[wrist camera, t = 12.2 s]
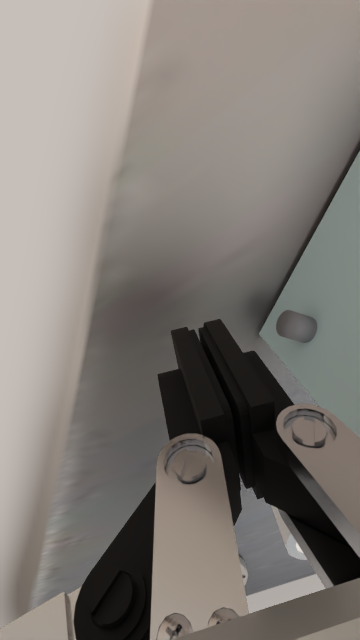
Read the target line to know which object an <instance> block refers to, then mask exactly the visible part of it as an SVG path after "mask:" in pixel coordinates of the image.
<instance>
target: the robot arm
mask: <svg viewBox="0 0 360 640" xmlns="http://www.w3.org/2000/svg"><path fill="white" fill-rule="evenodd" d="M171 334H172V339H173V344H174V349H175V354H176V358H177V363H178V368H179V369H177V370H173V371H169V372H165V373H161V374H158V380H159V386H160V391H161V396H162V402H163V407H164V412H165V418H166V423H167V428H168V433H169V439H170V441H169V442H168V443H167V444H166V445H165V446H164V447H163V448H162V450H161V452H160V454H159V455H158V460H157V466H156V483H155V484H154V485H153V487H152V488H151V489H150V491H149V492H148V494H147V495H146V496H145V498H144V499H143V500H142V502H141V503H140V505H139V506H138V507H137V509H136V510H135V512H134V513H133V514H132V516H131V517H130V518H129V520H128V521H127V523H126V524H125V525H124V527H123V528H122V529H121V531H120V532H119V534H118V535H117V536H116V538H115V539H114V540H113V542H112V543H111V545H110V546H109V547H108V549H107V550H106V551H105V553H104V554H103V556H102V557H101V558H100V560H99V561H98V562H97V564H96V565H95V567H94V568H93V569H92V571H91V572H90V574H89V575H88V577H87V578H86V580H85V582H84V584H83V585H82V586H81V587H80V588H78V589H76V590H75V591H73V592H71V593H70V594H68V595H67V594H66V593H65V592H62V593H60V594H58V595H57V596H55V597H53V598H52V599H50V600H48V601H47V602H45V603H43V604H41V605H40V606H38V607H36V608H35V609H33V610H31V611H29V612H28V613H26V614H25V615H23V616H21V617H19V618H18V619H16V620H14V621H12V622H11V623H9V624H7V625H6V626H4V627H2V628H0V640H360V438H359V437H358V436H357V435H356V434H355V433H354V432H353V431H352V430H351V429H349V428H348V427H347V426H346V425H345V424H344V423H343V422H342V421H340V420H339V419H338V418H337V417H336V416H335V415H333V414H332V413H331V412H329V411H328V410H326V409H324V408H321V407H319V406H315V405H310V404H296V405H294V404H293V402H292V401H291V399H290V398H289V397H288V395H287V394H286V393H285V391H284V390H283V389H282V387H281V386H280V385H279V383H278V382H277V380H276V379H275V378H274V376H273V375H272V374H271V372H270V371H269V370H268V368H267V367H266V365H265V364H264V363H263V361H262V360H261V359H260V357H259V356H258V355H257V353H256V352H255V351H250V352H245V353H243V352H242V351H241V349H240V348H239V346H238V345H237V343H236V342H235V340H234V339H233V337H232V336H231V334H230V333H229V331H228V330H227V328H226V327H225V325H224V324H223V322H222V321H221V320H220V319H218V320H214V321H209V322H205V323H204V327H203V328H199V336H200V341H199V339H198V337H197V334H196V332H195V330H190V331H189V330H188V328H187V327H184V328H180V329H176V330H171ZM239 473H240V476H241V478H242V481H243V483H244V486H245V487H246V489H247V488H251V487H252V488H253V490H254V492H255V495H256V497H257V499H260V498H263V497H264V499H265V501H266V503H268V504H270V505H272V506H274V507H276V508H278V511H279V513H280V515H281V518H282V519H283V521H284V523H285V524H286V526H287V527H288V529H289V531H290V532H291V534H292V535H293V537H294V539H295V540H296V542H297V543H298V545H299V547H300V548H301V550H302V551H303V553H304V555H305V556H306V558H307V559H308V561H309V563H310V564H311V566H312V567H313V569H314V570H315V572H316V574H317V575H318V577H319V578H320V580H321V582H322V583H323V585H324V586H325V588H326V589H324V590H321V591H318V592H315V593H312V594H309V595H306V596H302V597H299V598H296V599H293V600H290V601H287V602H284V603H281V604H278V605H275V606H272V607H269V608H266V609H263V610H259V611H256V612H253V613H250V614H249V611H248V605H247V600H246V594H245V588H244V586H245V584H246V582H247V579H248V572H247V569H246V565H245V563H244V561H243V559H242V558H241V557H240V556H239V554H238V549H237V543H236V537H235V532H234V525H235V523H236V521H237V519H238V517H239V514H240V512H241V510H242V507H241V498H240V490H241V487H240V478H239Z"/></svg>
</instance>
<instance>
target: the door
mask: <svg viewBox="0 0 360 640" xmlns="http://www.w3.org/2000/svg"><path fill="white" fill-rule="evenodd" d="M259 335H260V336H261V337H262V338H263V339H264V341H265V342H266V343H267V344H268V345H269V347H270V348H271V349H272V350H273V351H274V353H275V354H276V355H277V356H278V357H279V359H280V360H281V361H282V362H283V363H284V365H285V366H286V367H287V368H288V369H289V371H290V372H291V373H292V374H293V375H294V377H295V378H296V379H297V380H298V381H299V383H300V384H301V385H302V386H303V387H304V389H305V390H306V391H307V392H308V393H309V395H310V396H311V397H312V398H313V399H314V401H315V402H316V403H317V404H318V405H319V407H321V408H324V409H326V410H328V411H329V412H331V413H332V414H333V415H335V416H336V417H337V418H338V419H339V420H340V421H342V422H343V423H344V424H345V425H346V426H347V427H348V428H349V429H351V430H352V431H353V432H354V433H355V434H356V435H357V436H358V437H359V438H360V151H359V153H358V155H357V156H356V158H355V160H354V162H353V164H352V166H351V167H350V169H349V171H348V173H347V175H346V176H345V178H344V180H343V182H342V184H341V186H340V187H339V189H338V191H337V193H336V195H335V196H334V198H333V200H332V202H331V204H330V206H329V207H328V209H327V211H326V213H325V215H324V216H323V218H322V220H321V222H320V224H319V226H318V227H317V229H316V231H315V233H314V235H313V236H312V238H311V240H310V242H309V244H308V246H307V247H306V249H305V251H304V253H303V255H302V256H301V258H300V260H299V262H298V264H297V266H296V267H295V269H294V271H293V273H292V275H291V276H290V278H289V280H288V282H287V284H286V286H285V287H284V289H283V291H282V293H281V295H280V296H279V298H278V300H277V302H276V304H275V306H274V307H273V309H272V311H271V313H270V315H269V316H268V318H267V320H266V322H265V324H264V326H263V327H262V329H261V331H260V333H259Z"/></svg>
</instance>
